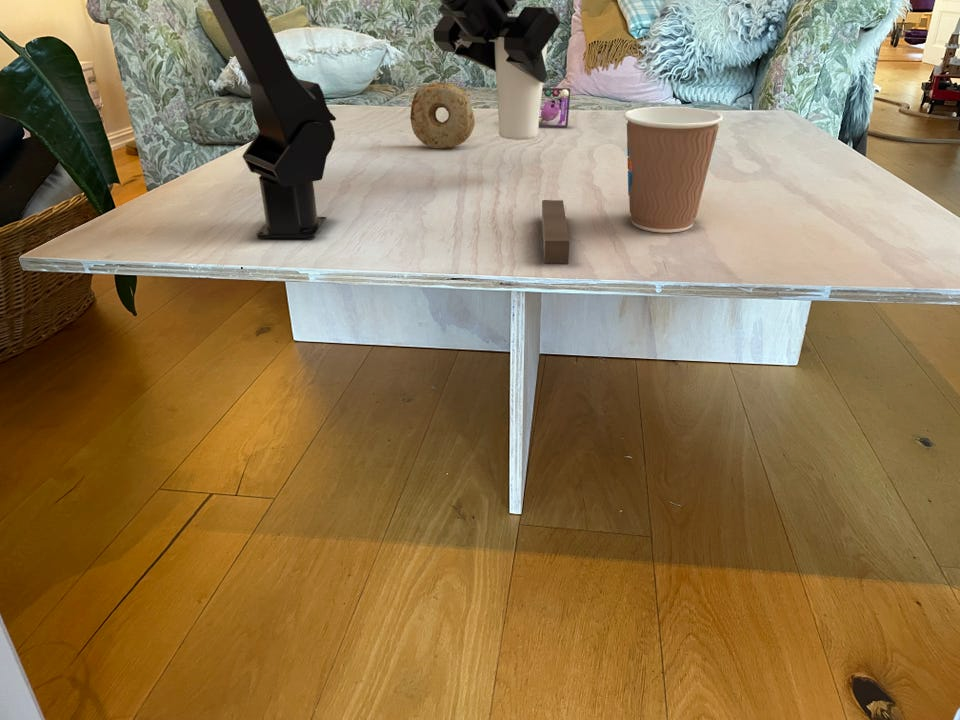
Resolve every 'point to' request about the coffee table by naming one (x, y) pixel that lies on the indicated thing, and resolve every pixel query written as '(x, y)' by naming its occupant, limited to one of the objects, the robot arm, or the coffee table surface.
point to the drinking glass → (516, 97)
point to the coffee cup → (668, 164)
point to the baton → (555, 232)
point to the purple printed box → (555, 106)
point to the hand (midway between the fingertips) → (527, 77)
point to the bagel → (430, 126)
